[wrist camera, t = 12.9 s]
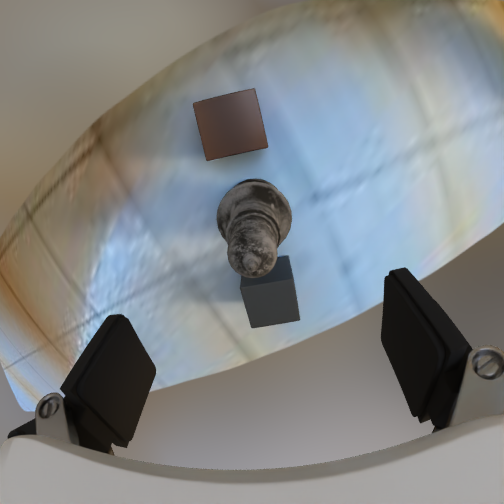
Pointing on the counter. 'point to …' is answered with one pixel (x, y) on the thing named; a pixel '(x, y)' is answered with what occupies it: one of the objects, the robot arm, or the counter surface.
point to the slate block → (271, 296)
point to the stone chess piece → (253, 226)
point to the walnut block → (230, 124)
